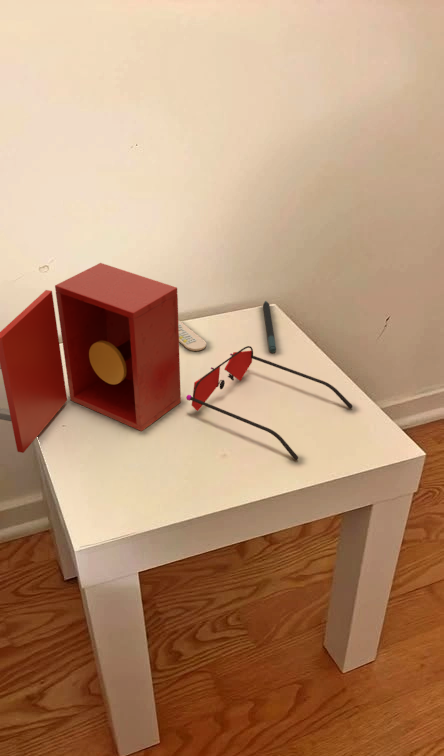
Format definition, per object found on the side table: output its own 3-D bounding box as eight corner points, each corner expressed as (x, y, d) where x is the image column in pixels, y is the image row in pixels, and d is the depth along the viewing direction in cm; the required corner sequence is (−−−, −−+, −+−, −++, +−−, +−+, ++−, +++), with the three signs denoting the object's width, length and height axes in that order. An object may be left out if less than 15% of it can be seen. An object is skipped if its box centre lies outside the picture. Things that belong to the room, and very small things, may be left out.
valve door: (-16, 445, 92) (-42, 330, 83) (31, 393, 101) (12, 284, 92) (23, 453, 91) (1, 337, 82) (67, 400, 100) (52, 290, 91)
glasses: (246, 369, 107) (247, 336, 104) (352, 408, 100) (357, 375, 97) (184, 415, 99) (184, 381, 95) (296, 462, 91) (299, 427, 88)
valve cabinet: (141, 431, 96) (133, 313, 86) (70, 400, 101) (54, 285, 91) (181, 402, 101) (177, 287, 91) (111, 374, 106) (100, 262, 96)
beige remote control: (156, 319, 117) (173, 314, 118) (156, 322, 117) (173, 317, 119) (192, 348, 110) (210, 343, 111) (192, 352, 111) (210, 347, 112)
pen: (268, 304, 123) (269, 298, 122) (276, 354, 111) (277, 347, 110) (261, 304, 123) (262, 297, 122) (268, 354, 111) (269, 346, 110)
